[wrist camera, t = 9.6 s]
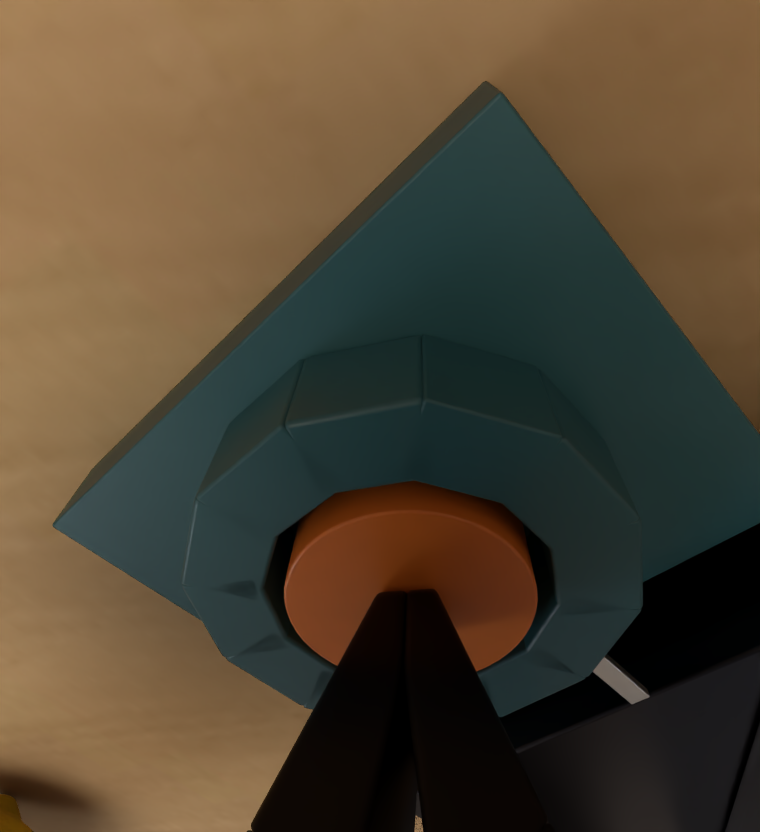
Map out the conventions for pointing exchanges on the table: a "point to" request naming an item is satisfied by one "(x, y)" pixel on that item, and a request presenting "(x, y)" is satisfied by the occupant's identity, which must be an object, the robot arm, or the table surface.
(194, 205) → the table surface
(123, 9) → the table surface
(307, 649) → the control block
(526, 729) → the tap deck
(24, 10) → the table surface
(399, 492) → the button
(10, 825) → the lemon
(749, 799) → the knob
